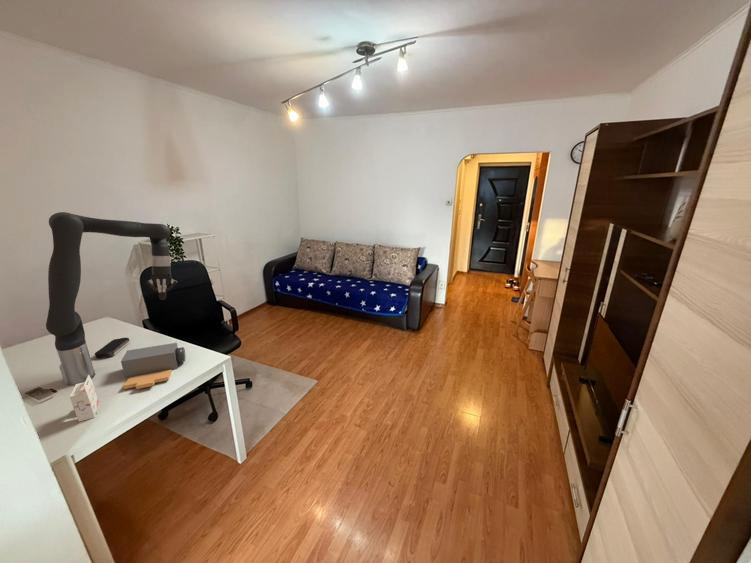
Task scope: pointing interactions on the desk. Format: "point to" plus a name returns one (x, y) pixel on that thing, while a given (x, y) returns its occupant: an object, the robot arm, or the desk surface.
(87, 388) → the ink cartridge box
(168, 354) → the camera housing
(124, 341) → the black sponge
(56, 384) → the desk surface
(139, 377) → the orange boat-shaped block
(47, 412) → the desk surface
